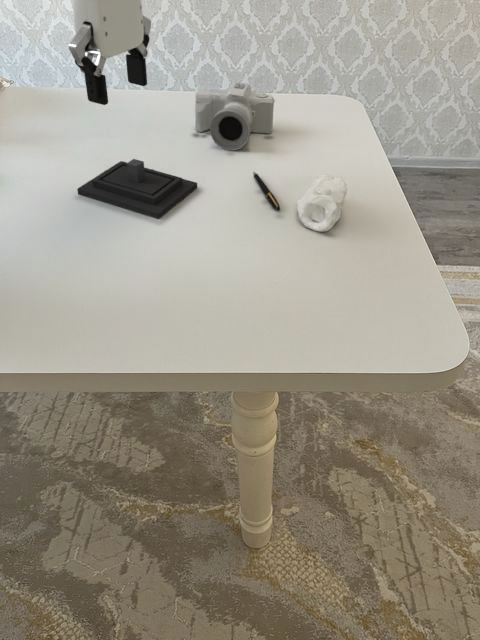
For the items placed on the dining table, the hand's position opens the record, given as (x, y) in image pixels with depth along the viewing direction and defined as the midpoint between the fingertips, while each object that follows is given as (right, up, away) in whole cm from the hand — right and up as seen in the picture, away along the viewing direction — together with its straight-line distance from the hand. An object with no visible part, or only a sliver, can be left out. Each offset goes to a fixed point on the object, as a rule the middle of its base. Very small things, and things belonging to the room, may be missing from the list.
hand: (118, 93), depth 88 cm
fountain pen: (+22, -12, +14) cm, 28 cm away
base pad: (0, -11, +12) cm, 17 cm away
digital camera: (+15, +4, +30) cm, 34 cm away
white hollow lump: (+31, -17, +9) cm, 36 cm away
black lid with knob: (0, -11, +11) cm, 16 cm away
